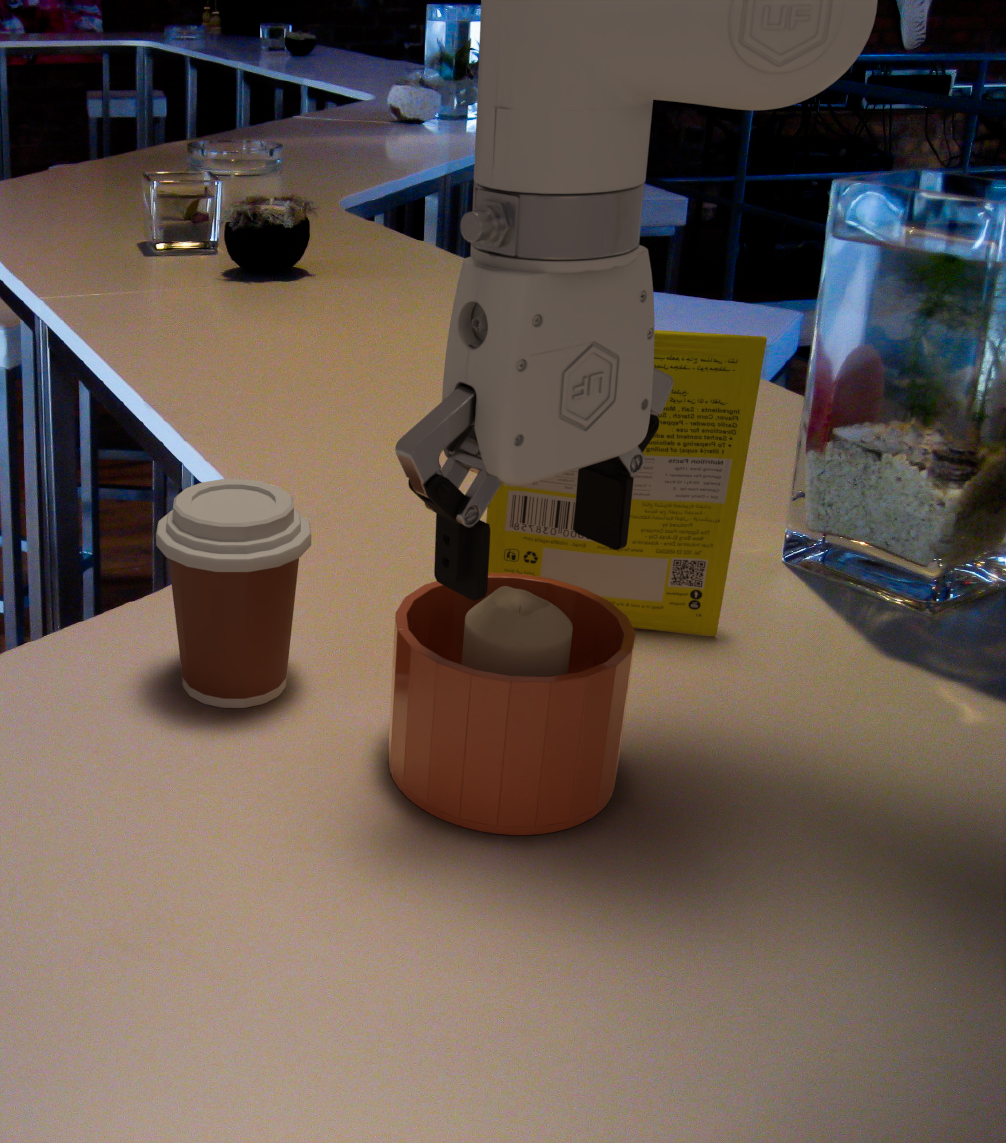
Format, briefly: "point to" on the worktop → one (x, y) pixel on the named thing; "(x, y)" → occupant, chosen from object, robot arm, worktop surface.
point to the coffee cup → (234, 587)
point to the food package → (654, 497)
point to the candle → (517, 635)
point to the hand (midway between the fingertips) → (532, 564)
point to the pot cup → (508, 715)
